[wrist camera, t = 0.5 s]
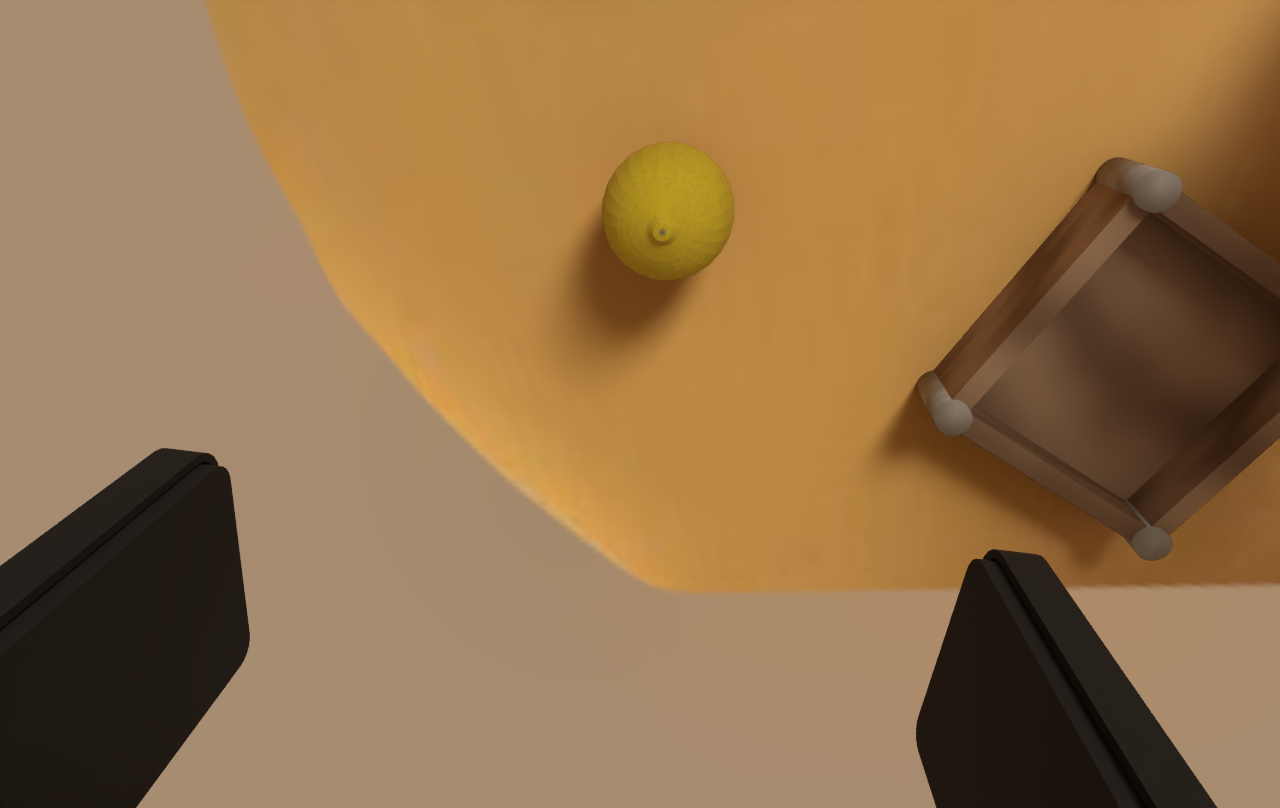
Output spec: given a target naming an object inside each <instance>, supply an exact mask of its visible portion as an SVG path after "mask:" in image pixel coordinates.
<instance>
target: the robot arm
mask: <svg viewBox="0 0 1280 808" xmlns="http://www.w3.org/2000/svg"><path fill="white" fill-rule="evenodd" d="M249 641H250V632H249V624H248V616H247V608H246V600H245V592H244V584H243V577H242V568H241V560H240V552H239V543H238V536H237V528H236V519H235V511H234V503H233V495H232V487H231V480H230V475H229V472H228V471H227V469H226V468H224V467H221V466H218V462H217V461H216V459H215V457H214V456H212V455H211V454H209V453H201V452H193V451H184V450H176V449H168V448H162V449H159V450H157V451H155V452H153V453H152V454H151V455H149V456H148V457H147V458H145V459H144V460H142V461H141V462H140V463H138V464H137V465H136V466H135V467H133V468H132V469H130V470H129V471H128V472H126V473H125V474H124V475H122V476H121V477H120V478H118V479H117V480H115V481H114V482H113V483H111V484H110V485H109V486H107V487H106V488H105V489H103V490H102V491H101V492H99V493H98V494H97V495H95V496H94V497H93V498H92V499H90V500H89V501H87V502H86V503H85V504H83V505H82V506H81V507H79V508H78V509H76V510H75V511H74V512H72V513H71V514H70V515H68V516H67V517H66V518H64V519H63V520H62V521H60V522H59V523H58V524H56V525H55V526H54V527H52V528H51V529H49V530H48V531H47V532H45V533H44V534H43V535H41V536H40V537H39V538H37V539H36V540H35V541H33V542H32V543H31V544H29V545H28V546H27V547H25V548H24V549H23V550H21V551H20V552H19V553H17V554H16V555H15V556H13V557H12V558H11V559H9V560H8V561H6V562H5V563H4V564H2V565H1V566H0V808H136V807H137V806H138V804H139V803H140V802H141V800H142V799H143V798H144V796H145V795H146V793H147V792H148V791H149V789H150V788H151V787H152V785H153V784H154V783H155V781H156V780H157V779H158V777H159V776H160V774H161V773H162V772H163V770H164V769H165V768H166V766H167V765H168V764H169V762H170V761H171V760H172V758H173V757H174V756H175V754H176V753H177V752H178V750H179V749H180V747H181V746H182V745H183V743H184V742H185V741H186V739H187V738H188V737H189V735H190V734H191V732H192V731H193V730H194V728H195V727H196V726H197V724H198V723H199V722H200V720H201V719H202V717H203V716H204V715H205V713H206V712H207V711H208V709H209V708H210V707H211V705H212V704H213V702H214V701H215V700H216V699H217V697H218V696H219V694H220V693H221V692H222V690H223V689H224V688H225V686H226V685H227V684H228V682H229V681H230V680H231V678H232V677H233V676H234V674H235V673H236V671H237V670H238V669H239V667H240V666H241V664H242V663H243V661H244V659H245V656H246V654H247V651H248V647H249ZM916 741H917V747H918V752H919V754H920V758H921V761H922V764H923V767H924V770H925V773H926V776H927V779H928V783H929V786H930V789H931V792H932V795H933V798H934V801H935V805H936V808H1217V807H1216V805H1215V804H1214V802H1213V801H1212V799H1211V798H1210V796H1209V795H1208V794H1207V792H1206V791H1205V789H1204V788H1203V786H1202V785H1201V783H1200V782H1199V781H1198V779H1197V778H1196V776H1195V775H1194V773H1193V772H1192V771H1191V769H1190V768H1189V766H1188V765H1187V763H1186V762H1185V760H1184V759H1183V757H1182V756H1181V755H1180V753H1179V752H1178V750H1177V749H1176V747H1175V746H1174V744H1173V743H1172V742H1171V740H1170V739H1169V737H1168V736H1167V734H1166V733H1165V731H1164V730H1163V729H1162V727H1161V726H1160V724H1159V723H1158V722H1157V720H1156V719H1155V717H1154V716H1153V714H1152V713H1151V711H1150V710H1149V708H1148V707H1147V706H1146V704H1145V703H1144V701H1143V700H1142V698H1141V697H1140V695H1139V694H1138V693H1137V691H1136V690H1135V688H1134V687H1133V685H1132V684H1131V682H1130V681H1129V680H1128V678H1127V677H1126V675H1125V674H1124V672H1123V671H1122V670H1121V668H1120V667H1119V665H1118V664H1117V663H1116V661H1115V659H1114V658H1113V657H1112V655H1111V654H1110V652H1109V651H1108V649H1107V648H1106V646H1105V645H1104V643H1103V642H1102V641H1101V639H1100V638H1099V636H1098V635H1097V633H1096V632H1095V631H1094V629H1093V628H1092V626H1091V625H1090V623H1089V622H1088V620H1087V619H1086V617H1085V616H1084V615H1083V613H1082V612H1081V610H1080V609H1079V607H1078V606H1077V604H1076V603H1075V602H1074V600H1073V599H1072V597H1071V596H1070V594H1069V593H1068V591H1067V590H1066V589H1065V587H1064V586H1063V584H1062V583H1061V581H1060V580H1059V578H1058V577H1057V576H1056V574H1055V573H1054V571H1053V570H1052V568H1051V567H1050V565H1049V564H1048V563H1047V561H1046V560H1045V559H1044V558H1043V557H1042V556H1040V555H1036V554H1029V553H1020V552H1012V551H1004V550H996V549H993V550H990V551H988V552H987V554H986V555H985V556H984V558H983V560H982V559H974V560H972V561H971V563H970V564H969V566H968V568H967V571H966V574H965V577H964V580H963V583H962V586H961V589H960V592H959V595H958V598H957V601H956V605H955V607H954V611H953V613H952V616H951V620H950V623H949V626H948V629H947V632H946V635H945V638H944V641H943V644H942V647H941V650H940V653H939V656H938V659H937V662H936V665H935V668H934V671H933V674H932V677H931V680H930V683H929V686H928V689H927V692H926V695H925V698H924V702H923V705H922V707H921V710H920V713H919V716H918V720H917V727H916Z"/></svg>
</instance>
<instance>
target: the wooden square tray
mask: <svg viewBox="0 0 1280 808" xmlns="http://www.w3.org/2000/svg"><path fill="white" fill-rule="evenodd" d="M917 391H918V394H919V395H920V397H921V399H922V401H923V403H924V404H925V406H926V408H927V410H928V412H929V413H930V415H931V417H932V419H933V421H934V422H935V424H936V426H937V428H938V430H939V431H940V432H941V433H943V434H945V435H948V436H957V435H960V434H961V435H963V436H965V437H966V438H968V439H969V440H971V441H972V442H974V443H976V444H977V445H979V446H980V447H982V448H984V449H985V450H987V451H988V452H990V453H992V454H993V455H995V456H996V457H998V458H999V459H1001V460H1003V461H1004V462H1006V463H1007V464H1009V465H1011V466H1012V467H1014V468H1015V469H1017V470H1019V471H1020V472H1022V473H1023V474H1025V475H1026V476H1028V477H1030V478H1031V479H1033V480H1034V481H1036V482H1038V483H1039V484H1041V485H1042V486H1044V487H1046V488H1047V489H1049V490H1050V491H1052V492H1053V493H1055V494H1057V495H1058V496H1060V497H1061V498H1063V499H1065V500H1066V501H1068V502H1069V503H1071V504H1073V505H1074V506H1076V507H1077V508H1079V509H1080V510H1082V511H1084V512H1085V513H1087V514H1088V515H1090V516H1092V517H1093V518H1095V519H1096V520H1098V521H1100V522H1101V523H1103V524H1104V525H1106V526H1107V527H1109V528H1111V529H1112V530H1114V531H1115V532H1117V533H1119V534H1120V535H1122V536H1123V537H1124V538H1125V539H1126V541H1127V542H1128V543H1129V544H1130V546H1131V547H1132V548H1133V549H1134V551H1135V552H1136V553H1137V554H1138V555H1139V557H1141V558H1142V559H1144V560H1149V561H1153V560H1158V559H1161V558H1163V557H1165V556H1166V555H1167V554H1168V553H1169V552H1170V551H1171V549H1172V546H1173V542H1172V539H1171V538H1170V537H1169V535H1170V534H1171V533H1172V532H1173V531H1174V530H1176V529H1177V528H1178V527H1179V526H1180V525H1181V524H1182V523H1184V522H1185V521H1186V520H1187V519H1188V518H1189V517H1190V516H1191V515H1193V514H1194V513H1195V512H1196V511H1197V510H1198V509H1199V508H1201V507H1202V506H1203V505H1204V504H1205V503H1206V502H1207V501H1208V500H1210V499H1211V498H1212V497H1213V496H1214V495H1215V494H1216V493H1218V492H1219V491H1220V490H1221V489H1222V488H1223V487H1224V486H1226V485H1227V484H1228V483H1229V482H1230V481H1231V480H1232V479H1233V478H1235V477H1236V476H1237V475H1238V474H1239V473H1240V472H1241V471H1243V470H1244V469H1245V468H1246V467H1247V466H1248V465H1249V464H1250V463H1252V462H1253V461H1254V460H1255V459H1256V458H1257V457H1258V456H1260V455H1261V454H1262V453H1263V452H1264V451H1265V450H1266V449H1268V448H1269V447H1270V446H1271V445H1272V444H1273V443H1274V442H1275V441H1277V440H1278V439H1279V438H1280V263H1279V262H1278V261H1276V260H1275V259H1273V258H1272V257H1271V256H1269V255H1268V254H1266V253H1265V252H1264V251H1262V250H1261V249H1260V248H1258V247H1257V246H1255V245H1254V244H1253V243H1251V242H1250V241H1248V240H1247V239H1246V238H1244V237H1243V236H1242V235H1240V234H1239V233H1237V232H1236V231H1235V230H1233V229H1232V228H1230V227H1229V226H1228V225H1226V224H1225V223H1224V222H1222V221H1221V220H1219V219H1218V218H1217V217H1215V216H1214V215H1212V214H1211V213H1210V212H1208V211H1207V210H1206V209H1204V208H1203V207H1201V206H1200V205H1199V204H1197V203H1196V202H1194V201H1193V200H1192V199H1190V198H1189V197H1187V196H1186V195H1185V194H1183V193H1182V182H1181V180H1180V178H1179V177H1178V176H1177V175H1176V174H1174V173H1172V172H1169V171H1165V170H1162V169H1159V168H1155V167H1152V166H1149V165H1145V164H1142V163H1139V162H1135V161H1132V160H1128V159H1125V158H1113V159H1110V160H1108V161H1106V162H1105V163H1104V164H1103V165H1102V166H1101V167H1100V168H1099V170H1098V171H1097V174H1096V177H1095V184H1094V185H1093V186H1092V187H1091V188H1090V189H1089V191H1088V192H1087V193H1086V194H1085V195H1084V196H1083V198H1082V199H1081V200H1080V201H1079V202H1078V203H1077V204H1076V206H1075V207H1074V208H1073V209H1072V210H1071V211H1070V213H1069V214H1068V215H1067V216H1066V217H1065V218H1064V220H1063V221H1062V222H1061V223H1060V224H1059V225H1058V227H1057V228H1056V229H1055V230H1054V231H1053V232H1052V234H1051V235H1050V236H1049V237H1048V238H1047V239H1046V241H1045V242H1044V243H1043V244H1042V245H1041V246H1040V248H1039V249H1038V250H1037V251H1036V252H1035V253H1034V255H1033V256H1032V257H1031V258H1030V259H1029V260H1028V261H1027V263H1026V264H1025V265H1024V266H1023V267H1022V268H1021V270H1020V271H1019V272H1018V273H1017V274H1016V275H1015V277H1014V278H1013V279H1012V280H1011V281H1010V282H1009V284H1008V285H1007V286H1006V287H1005V288H1004V289H1003V291H1002V292H1001V293H1000V294H999V295H998V296H997V298H996V299H995V300H994V301H993V302H992V303H991V305H990V306H989V307H988V308H987V309H986V310H985V311H984V313H983V314H982V315H981V316H980V317H979V318H978V320H977V321H976V322H975V323H974V324H973V325H972V327H971V328H970V329H969V330H968V331H967V332H966V334H965V335H964V336H963V337H962V338H961V339H960V341H959V342H958V343H957V344H956V345H955V346H954V348H953V349H952V350H951V351H950V352H949V353H948V355H947V356H946V357H945V358H944V359H943V360H942V362H941V363H940V364H939V365H938V366H937V367H936V368H935V370H934V371H930V372H927V373H925V374H924V375H922V376H921V377H920V379H919V380H918V382H917Z"/></svg>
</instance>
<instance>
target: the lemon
mask: <svg viewBox="0 0 1280 808" xmlns="http://www.w3.org/2000/svg"><path fill="white" fill-rule="evenodd" d="M733 220H734V199H733V195H732V191H731V187H730V184H729V181H728V180H727V178H726V176H725V174H724V173H723V171H722V169H721V168H720V166H719V165H718V164H717V163H716V162H715V161H714V160H713V159H712V158H711V157H710V156H709V155H707V154H705V153H704V152H702V151H700V150H699V149H697V148H695V147H693V146H689V145H686V144H682V143H679V142H661V143H657V144H653V145H649V146H645V147H643V148H642V149H640V150H638V151H636V152H634V153H633V154H631V155H630V156H629V157H627V158H626V159H625V160H624V161H623V162H622V163H621V164H620V165H619V166H618V167H617V169H616V170H615V172H614V174H613V175H612V177H611V179H610V180H609V182H608V184H607V188H606V191H605V194H604V197H603V206H602V221H603V225H604V230H605V235H606V237H607V240H608V242H609V244H610V246H611V248H612V250H613V252H614V253H615V254H616V255H617V256H618V258H619V259H620V260H621V261H622V262H623V263H624V264H625V265H626V266H628V267H629V268H630V269H632V270H633V271H634V272H636V273H638V274H641V275H643V276H645V277H648V278H651V279H658V280H664V281H666V280H676V279H682V278H685V277H688V276H690V275H693V274H696V273H697V272H699V271H700V270H702V269H703V268H705V267H706V266H708V265H709V264H710V263H711V262H712V261H713V260H714V259H715V258H716V257H717V256H718V255H719V253H720V252H721V251H722V249H723V247H724V245H725V244H726V242H727V240H728V238H729V236H730V233H731V229H732V225H733Z"/></svg>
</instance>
